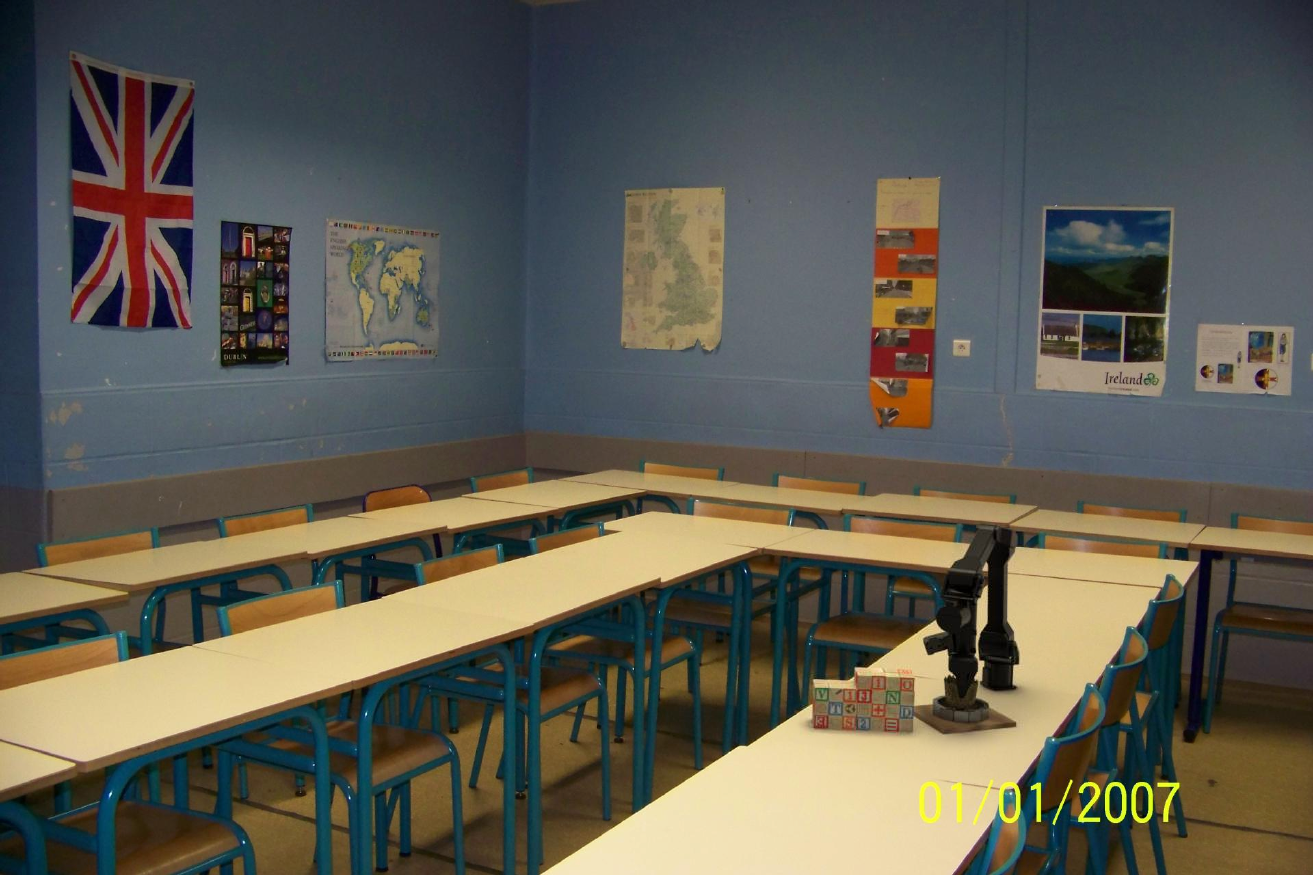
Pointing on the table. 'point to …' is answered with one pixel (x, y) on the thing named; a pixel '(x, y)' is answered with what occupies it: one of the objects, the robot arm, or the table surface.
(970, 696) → the cup
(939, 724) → the base plate
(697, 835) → the table surface
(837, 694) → the stack of blocks
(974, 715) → the gray stone ring
